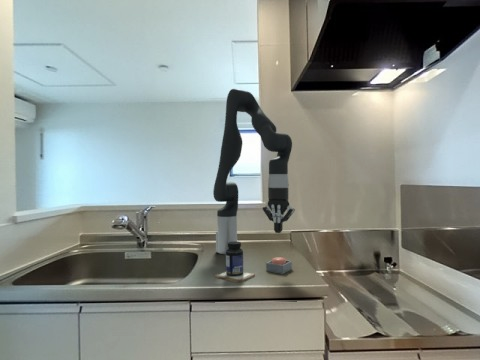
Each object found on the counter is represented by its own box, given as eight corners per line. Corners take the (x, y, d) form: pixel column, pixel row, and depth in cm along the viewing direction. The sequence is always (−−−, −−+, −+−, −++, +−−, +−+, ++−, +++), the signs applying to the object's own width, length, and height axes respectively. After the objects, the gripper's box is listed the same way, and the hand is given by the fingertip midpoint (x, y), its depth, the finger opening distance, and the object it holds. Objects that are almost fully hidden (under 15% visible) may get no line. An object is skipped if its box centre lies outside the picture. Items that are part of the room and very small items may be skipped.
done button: (270, 270, 109) (269, 259, 109) (276, 267, 113) (276, 256, 113) (282, 272, 106) (281, 261, 106) (288, 269, 110) (288, 258, 110)
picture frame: (214, 277, 102) (214, 274, 102) (230, 270, 110) (230, 268, 110) (240, 283, 96) (240, 280, 96) (255, 275, 103) (255, 273, 103)
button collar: (266, 270, 109) (266, 262, 109) (275, 266, 115) (275, 258, 115) (283, 274, 105) (283, 265, 105) (291, 269, 111) (291, 261, 111)
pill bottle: (245, 272, 105) (245, 241, 105) (240, 277, 99) (239, 244, 99) (229, 270, 107) (229, 240, 107) (223, 275, 101) (222, 243, 101)
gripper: (257, 186, 111) (258, 232, 111) (290, 187, 103) (290, 236, 103) (267, 186, 117) (267, 229, 117) (298, 186, 109) (298, 233, 109)
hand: (278, 232), depth 110 cm, fingers closed
